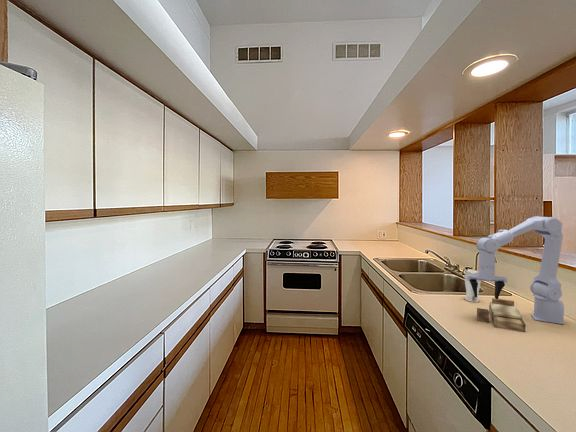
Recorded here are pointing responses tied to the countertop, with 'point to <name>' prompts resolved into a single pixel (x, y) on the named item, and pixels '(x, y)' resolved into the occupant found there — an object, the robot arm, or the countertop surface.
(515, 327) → the brown divided tray
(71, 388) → the countertop surface
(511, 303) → the lid
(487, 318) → the block
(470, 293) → the beer glass
